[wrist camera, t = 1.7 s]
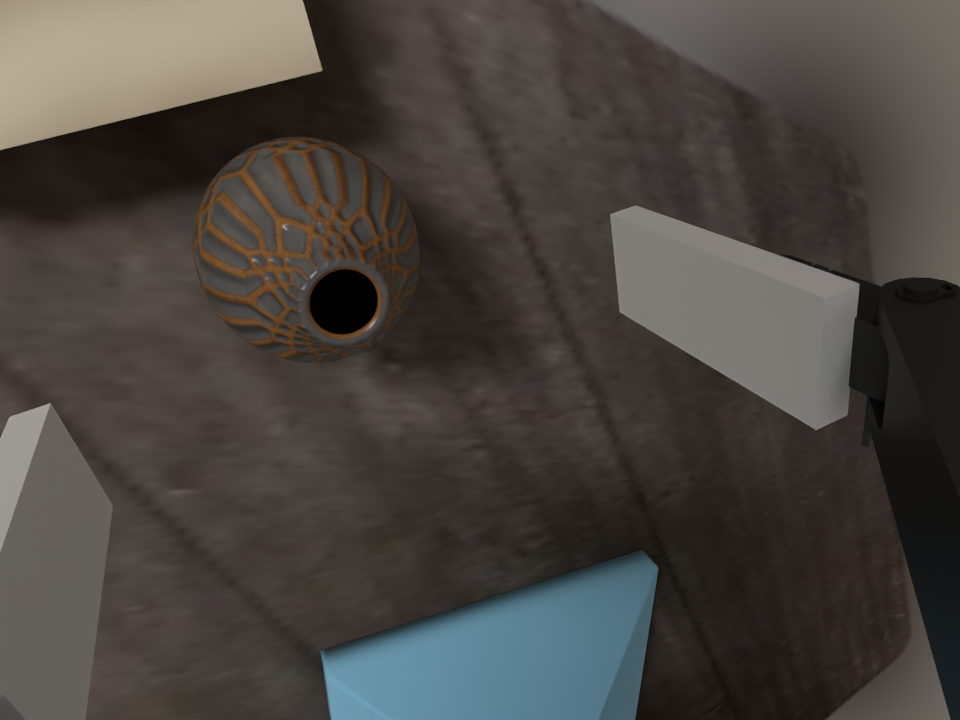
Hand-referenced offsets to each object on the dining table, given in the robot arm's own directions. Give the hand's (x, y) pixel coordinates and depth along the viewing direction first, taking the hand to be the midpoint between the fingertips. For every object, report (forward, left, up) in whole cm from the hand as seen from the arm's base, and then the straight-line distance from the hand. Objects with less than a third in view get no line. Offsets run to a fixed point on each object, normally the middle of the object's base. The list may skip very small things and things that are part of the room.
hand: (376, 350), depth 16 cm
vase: (0, 0, -11) cm, 11 cm away
